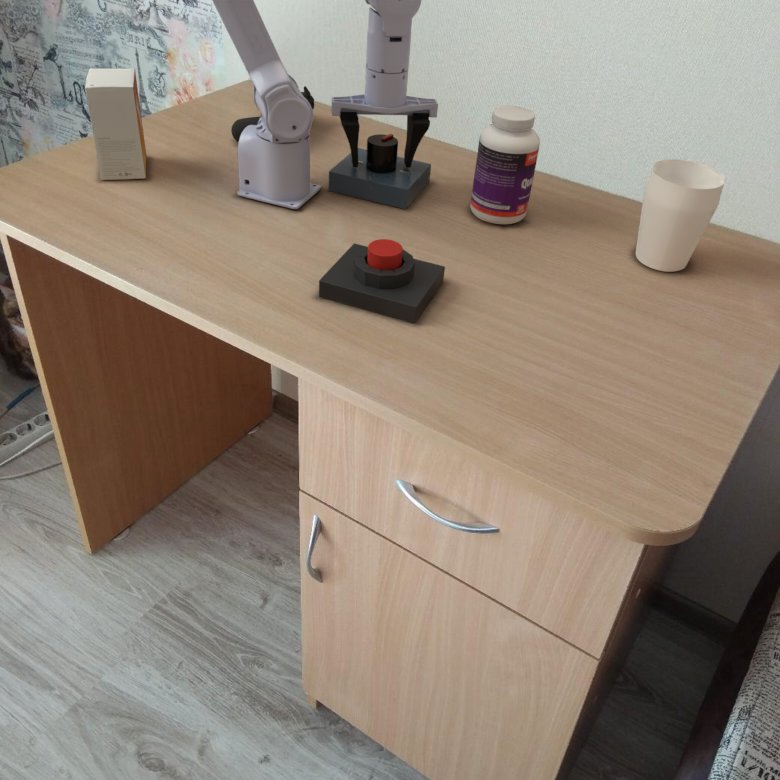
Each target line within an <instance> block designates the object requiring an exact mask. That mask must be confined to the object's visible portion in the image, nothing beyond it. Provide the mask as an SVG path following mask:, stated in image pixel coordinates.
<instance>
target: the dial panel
mask: <svg viewBox="0 0 780 780" xmlns="http://www.w3.org/2000/svg"><path fill="white" fill-rule="evenodd" d="M366 154H367V148H366V149H365V148H362V147H361V148H360V147H358V167H353V165H352V157H351V152H349V154H348V155H346V156H345V157H343V158H342V159H341V160H340V161H339V162H338V163H337V164H336V165H335V166H333V167H332V168H331V169H330V170H329V171H328V192H332V193H336V194H340V195H344V196H347V197H353V198H357V199H360V200H366V201H369V202H373V203H379V204H383V205H386V206H391V207H395V208H398V209H402V210H407V209H408V207H410V205H411V204H412V203H413V202H414V201H415V200H416V199H417V198H418V196H419V195H420V194H421V193H422V191H424V190H425V188H426V187H427V186H428V185H429V184H430V180H431V169H432V164H431V163H428V162H424V161H419V160H414V159H413V160H412V164H411V167H406V166H405V163H404V157H401V156H397V165H396V170H395V171H393V172H390V173H375V172H372V171H370V170H368V169H367V168H366Z"/></svg>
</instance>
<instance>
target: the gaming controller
mask: <svg viewBox="0 0 780 780" xmlns="http://www.w3.org/2000/svg"><path fill="white" fill-rule="evenodd" d="M300 92H301V93H302V95H303V96H304V98H306V99H307V100H308V102H309V103H310V105H311V107H312V110H313V111H314V109H315V98H314V97H313V96H312V94H311V91H310V90H309V89H308V87H307V86H306V85H305V86H303V91H300ZM261 116H262V115H260V116H252V117H251V116H250V117H244V118H238V119H237V120H235V121H234V122H233V123H232V124H231V125H232V126H231V128H230V131H231V136H232V138H233V139H234V140H235V142H237V143H239V139H240V136H241V133H242V132H243V130H244V129H245V128H246V127H247V126H249V125H257V124H258V121H259V119H260V117H261Z"/></svg>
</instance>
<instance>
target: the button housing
mask: <svg viewBox="0 0 780 780" xmlns="http://www.w3.org/2000/svg"><path fill="white" fill-rule="evenodd" d="M367 255H368V245H367V246H366V245H363V244H359V243H355V242H354V243H353V244H352V245H351V246H350V247H349V248H348V249H347V250H346V251H345V252H344V253H343V255H341V256H340V258H339V259H338V260H337V261H336V262H335V263H334V264H333V265H332V267H330V268H329V269H328V270H327V272H326V273H324V275H323V276H322V277H321V278H320V279H319V281H318V297H319V298H323V299H325V300H326V299H327V300H330V301H334V302H337V303H340V304H345V305H347V306H352V307H355V308H359V309H362V310H366V311H369V312H372V313H377V314H380V315H384V316H387V317H388V316H389V317H392V318H395V319H397V320H402V321H404V322H405V321H406V322H409V323H412V324H416V323H417V321H418V320H419V318H420V317H421V316H422V314H423V312H424V311H425V309H426V308H427V307H428V305H429V304H430V302H431V301H432V299H433V297H434V296H435V295H436V293H437V292H438V290H439V289H440V288H441V286H442V285H443V283H444V279H445V273H446V272H445V271H446V266H444V265H440V264H436V263H433V262H428V261H426V260H422V259H417V258H414V256H413V254H411V253H409V252H408V251H407V250H405V249H403V252H402V264H401V266H400V268H397V269H394V270H379V269H375V268H372V267H371V266H369V265H368V263H367Z"/></svg>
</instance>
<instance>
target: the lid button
mask: <svg viewBox="0 0 780 780" xmlns="http://www.w3.org/2000/svg"><path fill="white" fill-rule="evenodd" d="M367 247H368V255H367V263H368V265H369V266H371V267H372V268H375V269H379V270H394V269H397V268H400V266H401V264H402V252H403V250H404V248H403V245H401V243H399V242H398V241H395V240H393V239H387V238H380V239H374V240H373V241H371V242H369V244H368V245H367Z"/></svg>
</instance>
